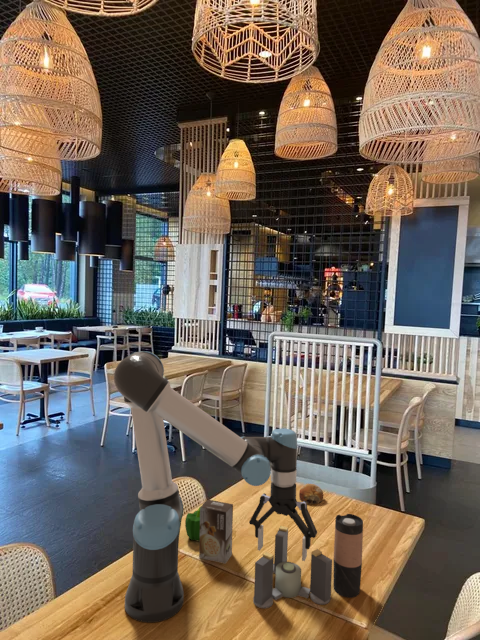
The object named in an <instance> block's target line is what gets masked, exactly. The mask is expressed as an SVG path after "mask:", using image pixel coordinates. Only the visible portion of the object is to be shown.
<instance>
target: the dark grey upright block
mask: <svg viewBox="0 0 480 640" xmlns="http://www.w3.org/2000/svg"><path fill="white" fill-rule="evenodd" d="M274 558H275V554H273V553H271V552H268V551H265V552H264V553H263V554H262V556H261V557H260V558H259V559H258V560H256V561H255V563H254V587H253V588H254V589H253V591H254V592H253V598H252V599H253V601H252V602H253V605H254V606H256V608H259V609H269V608H271V607H272V605H273V603H274V599H273V597H272V592H273V589H274V587H273V585H274V573H273V564H274Z"/></svg>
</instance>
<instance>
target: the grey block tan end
mask: <svg viewBox="0 0 480 640" xmlns="http://www.w3.org/2000/svg"><path fill="white" fill-rule="evenodd" d="M274 536H275V537H274V563H273V574H275V575H276V566H277V565H278V564H279V563H281V562H288V543H289V527H288V526H284V525H283V526H282V525H280V526H279V527H278V530H277V532H276V534H275V535H274Z"/></svg>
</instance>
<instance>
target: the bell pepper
mask: <svg viewBox="0 0 480 640" xmlns="http://www.w3.org/2000/svg"><path fill="white" fill-rule="evenodd" d="M184 526H185V532H186V535H187V537H188V539H189V540H190V539H191V541H197V542H199V541H200V507H198V509H197V510H195V511H194V512H189V513H187V515H186V517H185V525H184Z"/></svg>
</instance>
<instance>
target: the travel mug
mask: <svg viewBox="0 0 480 640" xmlns="http://www.w3.org/2000/svg"><path fill="white" fill-rule="evenodd" d="M334 525H335V526H334V543H333V545H334V546H333V590H334V592H336V593H335V594H338V596H341V597H344V598H350V599H351V598H355V597H358V596H359V594H360V593H361V581H362V580H361V579H362V568H363V567H362V566H363V542H364V541H363V537H364V534H363V531H364V520H363V519H362V518H361V517H360V516H358V515H356V514H353V513H347V514H345V515H341V514H337V515H336V516H335V522H334Z"/></svg>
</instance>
